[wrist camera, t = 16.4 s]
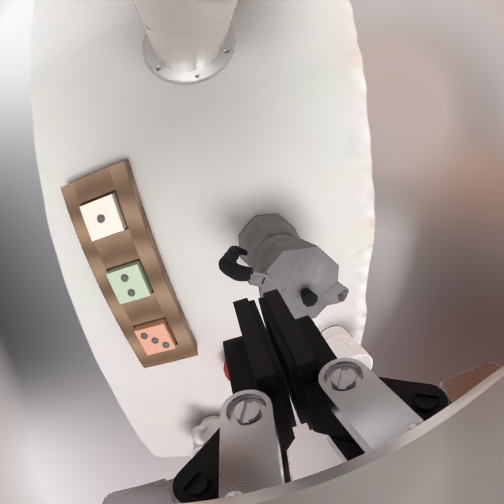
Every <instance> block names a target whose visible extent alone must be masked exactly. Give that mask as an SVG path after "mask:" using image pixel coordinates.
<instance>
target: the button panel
mask: <svg viewBox="0 0 504 504" xmlns="http://www.w3.org/2000/svg"><path fill="white" fill-rule="evenodd" d="M61 191H62V194H63V197H64V200H65V203H66V206H67V209H68V212H69V215H70V217H71V220H72V223H73V226H74V228H75V231H76V234H77V236H78V239H79V241H80V244H81V246H82V249H83V251H84V253H85V256H86V258H87V260H88V263H89V265H90V267H91V270H92V272H93V274H94V276H95V278H96V281H97V283H98V285H99V287H100V289H101V291H102V293H103V295H104V297H105V299H106V301H107V303H108V305H109V307H110V309H111V311H112V313H113V315H114V317H115V319H116V321H117V323H118V324H119V326H120V328H121V330H122V332H123V333H124V335H125V337H126V339H127V341H128V342H129V344H130V346H131V347H132V349H133V351H134V353H135V354H136V356H137V358H138V359H139V361H140V362H141V364H142V366H143V367H144V368H147V367H152V366H156V365H160V364H165V363H169V362H173V361H177V360H181V359H185V358H189V357H193V356H197V355H198V351H197V343H196V341H195V339H194V336H193V334H192V332H191V330H190V327H189V325H188V323H187V321H186V318H185V316H184V314H183V311H182V309H181V307H180V304H179V302H178V300H177V297H176V295H175V292H174V290H173V287H172V285H171V282H170V280H169V277H168V275H167V272H166V270H165V267H164V265H163V262H162V259H161V257H160V254H159V251H158V249H157V246H156V243H155V240H154V238H153V235H152V232H151V229H150V226H149V223H148V221H147V218H146V215H145V212H144V209H143V206H142V203H141V200H140V197H139V193H138V190H137V187H136V184H135V181H134V177H133V174H132V171H131V167H130V164H129V161H128V160H126V161H122V162H120V163H117V164H115V165H112V166H110V167H107V168H105V169H102V170H100V171H97V172H95V173H92V174H90V175H88V176H85V177H83V178H81V179H79V180H76V181H74V182H72V183H70V184H67V185H65V186H63V187H61ZM115 191H116V193H117V196H118V199H119V202H120V205H121V208H122V211H123V214H124V217H125V220H126V223H127V225H128V226H127V227H126V228H125V230H123V231H120V232H118V233H115V234H112V235H109V236H106V237H104V238H101V239H98V240H95V241H93V242H92V240H91V237H90V235H89V232H88V230H87V227H86V224H85V222H84V219H83V216H82V213H81V210H80V206H82V205H84V204H85V203H87V202H89V201H92V200H94V199H97V198H99V197H102V196H104V195H107V194H110V193H112V192H115ZM139 258H140V260H141V262H142V265H143V267H144V270H145V272H146V274H147V277H148V279H149V282H150V284H151V286H152V292H151V296H148V297H144V298H141V299H137V300H134V301H130V302H127V303H124V304H120V303H119V301H118V299H117V297H116V295H115V293H114V291H113V289H112V286H111V284H110V282H109V280H108V278H107V276H106V274H107V272H108V270H109V269H110V268H111V267H114V266H117V265H121V264H124V263H127V262H130V261H133V260H136V259H139ZM163 317H165V318H166V320H167V322H168V324H169V326H170V328H171V330H172V332H173V334H174V337H175V339H176V348H175V349H172V350H168V351H164V352H160V353H155V354H151V355H147V354H146V352H145V350H144V348H143V347H142V345H141V343H140V341H139V339H138V338H137V336H136V334H135V332H134V330H135V326H136V325H137V324H141V323H145V322H149V321H152V320H156V319H160V318H163Z"/></svg>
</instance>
